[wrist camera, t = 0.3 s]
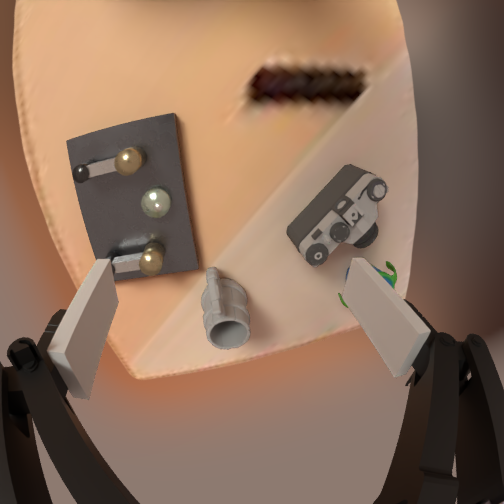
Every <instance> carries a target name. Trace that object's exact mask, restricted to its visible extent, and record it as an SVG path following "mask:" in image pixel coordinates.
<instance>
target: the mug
mask: <svg viewBox="0 0 504 504" xmlns="http://www.w3.org/2000/svg"><path fill="white" fill-rule="evenodd" d="M206 280H207V283H208V285H207V287H206V288H205V290H204V292H203V294H202V297H201V305H202V308H203V311H204V315H203V322H204V327H205V329H206V335H207V339H208V341H209V342H210V343H211V344H212V345H213V346H215V347H217V348H219V349H231V348H238V347H240V346H242V345H244V344H245V343H246V342H247V341H248V339H249V337H250V326H249V325H250V316H249V312H248V310H247V308H246V306H247V296H246V293H245V291H244V289H243V288H242V287H241V286H240V285H239V284H238V283H237V282H235V281H234V280H230V279H220V277H219V273H218V270H217V268H216V267H209V268H208V269H207V273H206Z"/></svg>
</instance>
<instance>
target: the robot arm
mask: <svg viewBox="0 0 504 504" xmlns="http://www.w3.org/2000/svg"><path fill="white" fill-rule="evenodd" d="M342 299H343V300H344V302H345V303H346V305H347V306H348V307H349V309H350V310H351V312H352V313H353V315H354V316H355V318H356V319H357V321H358V322H359V324H360V325H361V327H362V328H363V330H364V331H365V333H366V334H367V336H368V337H369V339H370V340H371V342H372V344H373V345H374V346H375V348H376V350H377V351H378V353H379V354H380V356H381V357H382V359H383V361H384V362H385V364H386V365H387V367H388V369H389V370H390V372H391V373H392V375H393V377H398V376H402V375H405V374H406V373H407V372H408V370H409V369H410V367H411V366H413V368H414V369H415V371H414V372H413V374H412V375H411V377H410V378H409V380H408V381H407V383H406V385H405V386H408V384H409V383H410V382H411V384H410V390H409V395H408V400H407V405H406V410H405V415H404V419H403V423H402V428H401V431H400V435H399V439H398V443H397V446H396V450H395V453H394V456H393V460H392V463H391V466H390V469H389V472H388V475H387V478H386V481H385V483H384V486H383V489H382V491H381V493H380V495H379V497H378V498H377V499H376V500H375V501H374V503H373V504H455V502H456V498H457V504H504V389H503V386H502V383H501V381H500V378H499V375H498V372H497V370H496V367H495V364H494V362H493V360H492V357H491V354H490V352H489V350H488V347H487V345H486V343H485V341H484V340H483V339H482V338H481V337H480V336H479V335H476V334H469V335H468V336H467V338H466V339H465V341H464V342H457V341H456V340H455V339H454V338H453V337H452V336H451V335H449V334H447V333H443V332H440V333H437V331H436V330H435V329H434V328H433V327H432V326H431V325H430V323H429V322H428V321H427V320H426V319H425V318H424V317H422V314H421V313H420V312H418V310H417V309H416V308H415V307H414V305H413V304H411V303H409V302H408V301H407V300H405V299H402V298H401V296H400V295H399V294H398V293H397V292H396V291H395V290H394V289H393V288H392V287H391V286H390V285H389V283H388V282H387V281H386V280H385V279H384V278H383V277H382V276H381V275H380V274H379V273H378V272H377V271H376V270H375V269H374V268H373V267H372V266H371V265H370V264H369V263H368V262H367V261H366V260H365V259H364V258H352V261H351V265H350V269H349V273H348V277H347V280H346V284H345V288H344V291H343V295H342ZM118 303H119V301H118V297H117V292H116V287H115V282H114V277H113V272H112V266H111V261H110V259H97V260H96V262H95V263H94V265H93V266H92V268H91V270H90V271H89V273H88V275H87V276H86V278H85V280H84V281H83V283H82V285H81V286H80V288H79V290H78V291H77V293H76V295H75V297H74V299H73V301H72V302H71V304H70V306H69V308H68V309H67V310H64V309H60V310H59V311H58V312H56V313H55V314H54V315H53V316H52V318H51V320H50V322H49V323H48V325H47V327H46V329H45V332H44V333H43V335H42V336H41V338H40V340H39V342H38V344H37V346H36V344H35V343H34V341H33V340H32V339H30V338H25V337H23V338H20V339H17V340H16V341H14V342H13V343H12V344H11V345H10V346H9V348H8V350H7V357H8V358H9V360H10V362H11V363H12V365H13V366H11V367H3V365H2V364H1V362H0V504H53V503H52V500H51V497H50V494H49V491H48V488H47V485H46V481H45V478H44V474H43V471H42V467H41V463H40V459H39V454H38V450H37V445H36V440H35V434H34V428H33V422H32V418H33V421H34V423H35V426H36V428H37V430H38V433H39V435H40V437H41V440H42V442H43V444H44V446H45V448H46V450H47V452H48V454H49V456H50V458H51V460H52V462H53V464H54V466H55V468H56V469H57V471H58V473H59V475H60V476H61V478H62V480H63V482H64V483H65V485H66V487H67V488H68V490H69V491H70V493H71V495H72V496H73V498H74V499H75V501H76V502H77V504H140V503H139V502H138V501H137V500H136V499H135V498H134V496H133V495H132V494H131V493H130V492H129V491H128V489H127V488H126V487H125V486H124V485H123V483H122V482H121V481H120V480H119V478H118V477H117V476H116V474H115V473H114V472H113V471H112V469H111V468H110V467H109V465H108V464H107V462H106V461H105V460H104V458H103V457H102V456H101V454H100V453H99V451H98V450H97V448H96V447H95V445H94V444H93V442H92V441H91V439H90V437H89V436H88V434H87V433H86V431H85V429H84V428H83V426H82V424H81V423H80V421H79V419H78V417H77V416H76V414H75V412H74V411H73V409H72V407H71V405H70V403H69V401H68V400H67V398H66V394H67V390H69V392H70V393H71V395H72V396H73V397H75V398H81V399H87V400H89V398H90V394H91V390H92V386H93V382H94V379H95V375H96V371H97V368H98V364H99V361H100V357H101V354H102V351H103V347H104V344H105V341H106V338H107V335H108V332H109V329H110V326H111V323H112V320H113V317H114V314H115V312H116V309H117V306H118ZM470 371H471V376H472V377H471V378H470V379H469V380H468V379H467V376H468V374H469V373H470ZM454 456H455V457H456V472H457V478H456V477H453V476H452V469H453V463H454Z"/></svg>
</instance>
